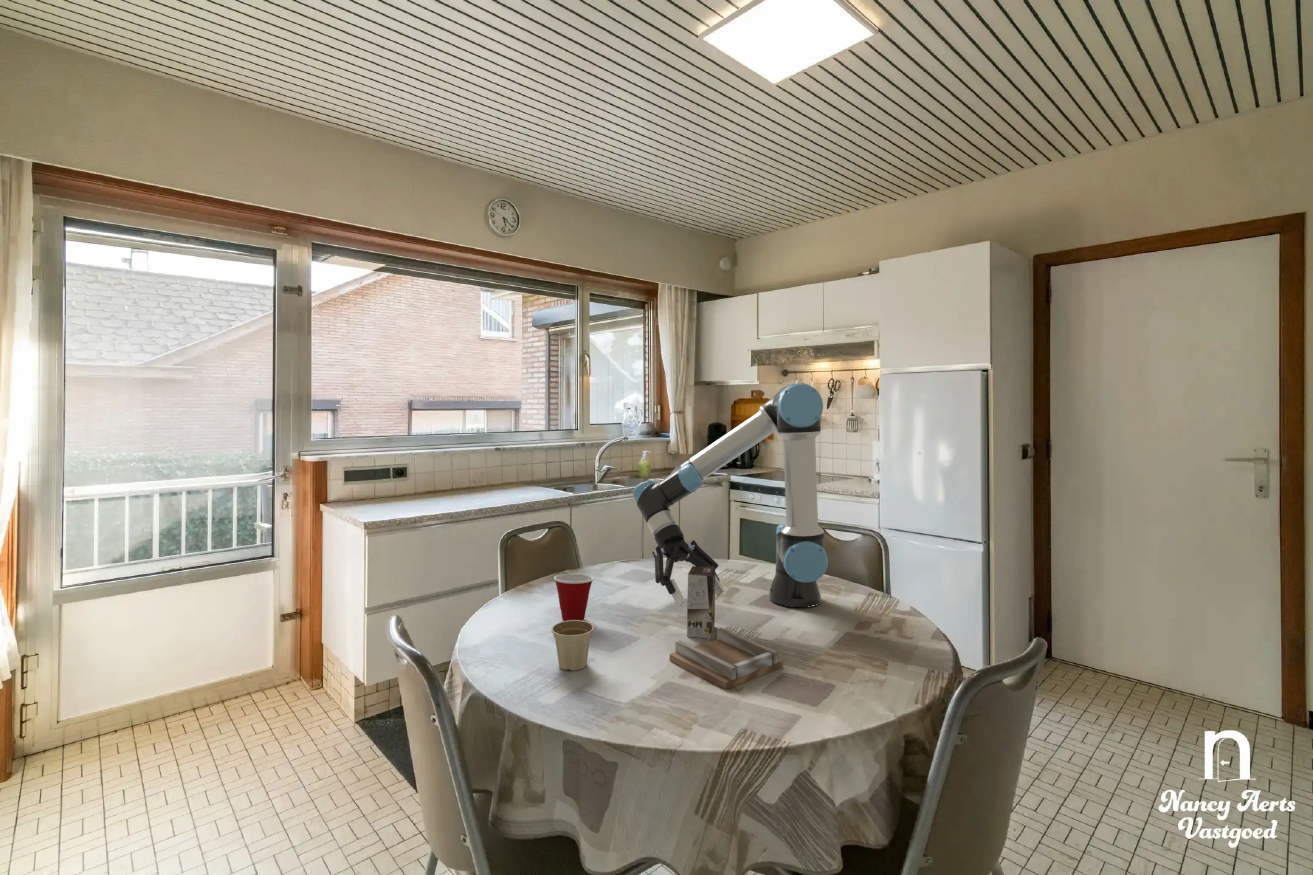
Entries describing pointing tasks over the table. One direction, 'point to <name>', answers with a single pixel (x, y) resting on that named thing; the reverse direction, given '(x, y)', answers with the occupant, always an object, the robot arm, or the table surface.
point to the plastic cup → (573, 595)
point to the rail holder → (727, 659)
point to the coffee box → (701, 602)
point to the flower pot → (572, 643)
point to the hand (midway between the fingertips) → (701, 599)
